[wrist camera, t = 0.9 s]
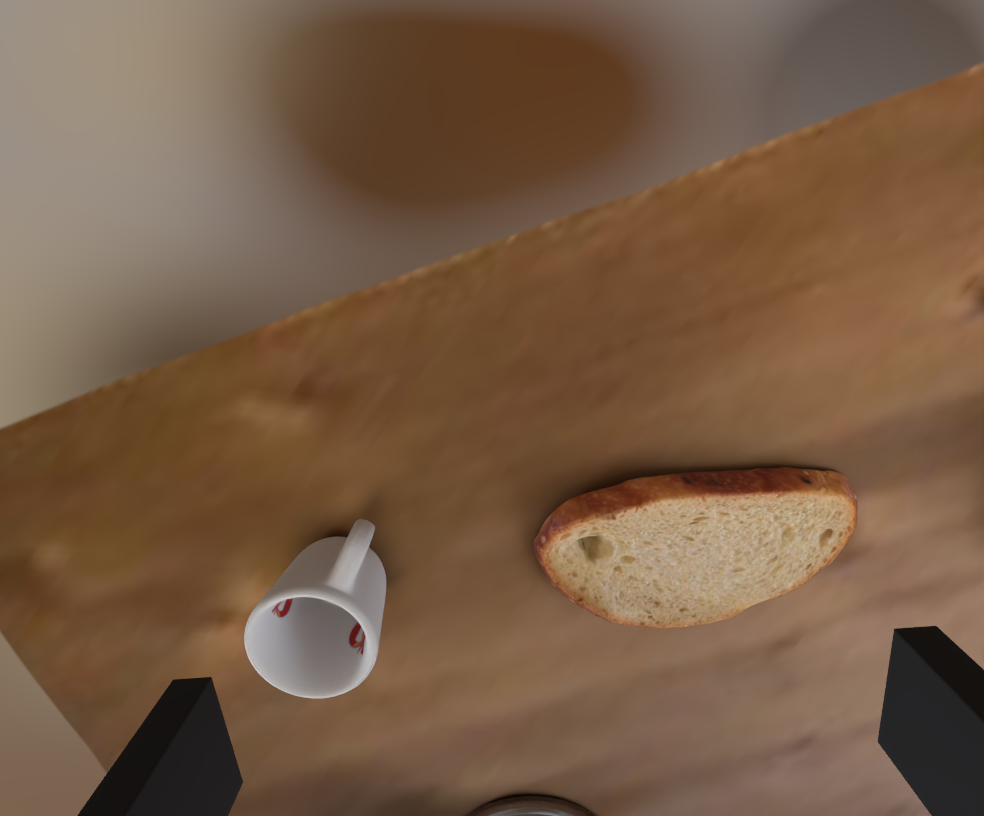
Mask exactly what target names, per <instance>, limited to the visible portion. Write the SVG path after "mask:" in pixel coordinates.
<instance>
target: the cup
mask: <svg viewBox="0 0 984 816" xmlns="http://www.w3.org/2000/svg"><path fill="white" fill-rule="evenodd" d="M374 530H375V526H374V525H373V523H371V522H369V521H367V520H364V519H358V520H356V522H355V523H354V525H353V527H352V529H351V531H350V533H349V535H348V537H329V538H324V539H321V540H318V541H316V542H314V543H312V544H311V545H309V546H308V547H307V548H305V549H304V550H303V551H302V552H301V553H300V554H299V555H298V556H297V557H296V558H295V560H294V561H293V562H292V563H291V564H290V566H289V567H288V568H287V569H286V570H285V572H284V573H283V574H282V575H281V577H280V578H279V579H278V580H277V581H276V583H275V584H274V585H273V586H272V588H271V589H270V590H269V591H268V592H267V594H266V595H265V596H264V597H263V599H262V600H261V601H260V602H259V603H258V605H257V606H256V607H255V608H254V610H253V611H252V613H251V615H250V617H249V619H248V621H247V624H246V628H245V635H244V640H245V648H246V652H247V655H248V657H249V660H250V662H251V663H252V665H253V667H254V668H255V669H256V671H257V672H258V673H259V674H260V675H261V676H262V677H263V678H264V679H265V680H266V681H268V682H269V683H270V684H272V685H273V686H275V687H276V688H278V689H280V690H282V691H284V692H287V693H289V694H292V695H296V696H300V697H306V698H327V697H333V696H337V695H340V694H343V693H346V692H348V691H350V690H352V689H353V688H355V687H356V686H358V685H359V684H360V683H361V682H362V681H363V680H364V679H365V678H366V677H367V676H368V675H369V673H370V672H371V670H372V668H373V666H374V664H375V661H376V658H377V654H378V647H379V640H380V632H381V625H382V618H383V610H384V603H385V595H386V574H385V570H384V567H383V565H382V562H381V560H380V559H379V557H378V556H377V555H376V553H375V552H374V551H373V550H372V549H371V548H369V545H370V542H371V540H372V537H373V534H374Z"/></svg>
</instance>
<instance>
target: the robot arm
mask: <svg viewBox="0 0 984 816" xmlns="http://www.w3.org/2000/svg"><path fill="white" fill-rule="evenodd" d="M878 743H879V744H880V745H881V747H882V748H883V750H884V751H885V752H886V754H887V755H888V756H889V758H890V759H891V760H892V762H893V763H894V765H895V766H896V767H897V769H898V770H899V771H900V773H901V774H902V776H903V777H904V778H905V780H906V781H907V782H908V784H909V785H910V787H911V788H912V789H913V791H914V792H915V793H916V795H917V796H918V797H919V799H920V800H921V802H922V803H923V804H924V806H925V807H926V808H927V810H928V811H929V813H930V814H931V815H932V816H984V670H983V669H982V668H981V667H980V666H979V665H978V664H977V663H976V662H975V661H973V660H972V659H971V658H970V657H969V656H968V655H967V654H966V653H965V652H964V651H963V650H962V649H960V648H959V647H958V646H957V645H956V644H955V643H954V642H953V641H952V640H951V639H950V638H949V637H947V636H946V635H945V634H944V633H943V632H942V631H941V630H940V629H939V628H938V627H937V626H928V627H914V628H900V629H894V634H893V641H892V648H891V655H890V662H889V668H888V675H887V682H886V689H885V696H884V702H883V709H882V716H881V723H880V730H879V736H878ZM242 783H243V780H242V777H241V774H240V770H239V767H238V764H237V760H236V757H235V754H234V751H233V747H232V744H231V741H230V737H229V734H228V731H227V727H226V724H225V721H224V717H223V714H222V711H221V708H220V704H219V701H218V698H217V694H216V691H215V688H214V684H213V681H212V678H211V677H205V678H191V679H177V680H173V681H172V682H171V684H170V685H169V686H168V688H167V689H166V691H165V692H164V694H163V695H162V696H161V698H160V699H159V701H158V702H157V703H156V705H155V706H154V708H153V709H152V711H151V712H150V713H149V715H148V716H147V718H146V719H145V721H144V722H143V723H142V725H141V726H140V728H139V729H138V730H137V732H136V733H135V735H134V736H133V738H132V739H131V740H130V742H129V743H128V745H127V746H126V747H125V749H124V750H123V752H122V753H121V755H120V756H119V757H118V759H117V760H116V762H115V763H114V765H113V766H112V767H111V769H110V770H109V772H108V773H107V774H106V776H105V777H104V779H103V780H102V782H101V783H100V784H99V786H98V787H97V789H96V790H95V792H94V793H93V794H92V796H91V797H90V799H89V800H88V801H87V803H86V804H85V806H84V807H83V809H82V810H81V811H80V813H79V814H78V816H228V814H229V812H230V810H231V808H232V805H233V803H234V801H235V799H236V797H237V794H238V792H239V790H240V788H241V785H242ZM467 816H594V815H593V814H592V813H590V812H589V811H587V810H585V809H583V808H582V807H580V806H577V805H575V804H573V803H570V802H567V801H564V800H560V799H556V798H550V797H542V796H520V797H512V798H507V799H502V800H499V801H495V802H492V803H489V804H487V805H485V806H482V807H480V808H479V809H477V810H475V811H473V812H472V813H470V814H469V815H467Z"/></svg>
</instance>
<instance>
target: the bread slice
mask: <svg viewBox="0 0 984 816" xmlns="http://www.w3.org/2000/svg"><path fill="white" fill-rule="evenodd" d="M856 524H857V499H856V495H855V492H854V490H853V488H852V486H851V484H850V482H849V481H848V479H847V478H846V477H845V476H844V475H843V474H841V473H838V472H835V471H831V470H824V471H818V470H813V469H797V468H790V467H781V468H755V469H751V470H730V471H707V472H689V473H675V474H667V475H660V476H652V477H641V478H636V479H631V480H627V481H624V482H623V483H621V484H618V485H615V486H611V487H607V488H603V489H599V490H595V491H591V492H587V493H584V494H581V495H578V496H575V497H573V498H571V499H569V500H567V501H565V502H564V503H563V504H561V505H560V506H559V507H558V508H556V509H555V510H554V511H553V512H552V513H551V514H550V515H549V516H548V518H547V519H546V520H545V522H544V523H543V525H542V528H541V530H540V532H539V533H538V535H537V536H536V537H535V540H534V551H535V554H536V556H537V558H538V560H539V562H540V564H541V567H542V569H543V571H544V572H545V574H546V576H547V578H548V579H549V581H550V582H551V584H552V585H553V586H554V587H555V588H556V589H558V590H559V591H560V592H561V593H562V594H564V595H565V596H566V597H567V598H569V599H570V600H571V601H573V602H574V603H576V604H577V605H579V606H581V607H583V608H584V609H586V610H588V611H589V612H591V613H592V614H594V615H596V616H598V617H601V618H603V619H605V620H607V621H610V622H613V623H618V624H625V625H634V626H643V627H655V628H669V627H682V628H685V627H689V626H693V625H698V624H708V623H713V622H716V621H721V620H722V621H723V620H725V619H728V618H731V617H734V616H736V615H737V614H738V613H740V612H741V611H743V610H744V609H746V608H747V607H749V606H751V605H754V604H757V603H760V602H762V601H764V600H767V599H771V598H775V597H780V596H782V595H783V594H785V593H787V592H789V591H791V590H793V589H794V588H796V587H798V586H800V585H802V584H804V583H805V582H807V581H808V580H809V579H810V578H811V577H812V576H814V575H815V574H816V573H817V572H819V571H820V570H821V569H823V568H824V567H826V566H827V565H828V564H830V563H831V562H832V561H833V560H834V559H835V558H836V556H837V555H838V554H839V553H840V551H841V550H842V549H843V547H844V546H845V545H846V543H847V542H848V540H849V538H850V536H851V535H852V533H853V532H854V530H855V528H856Z"/></svg>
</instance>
